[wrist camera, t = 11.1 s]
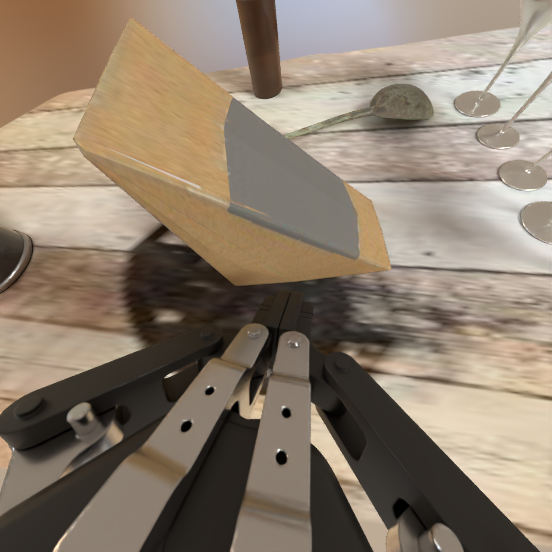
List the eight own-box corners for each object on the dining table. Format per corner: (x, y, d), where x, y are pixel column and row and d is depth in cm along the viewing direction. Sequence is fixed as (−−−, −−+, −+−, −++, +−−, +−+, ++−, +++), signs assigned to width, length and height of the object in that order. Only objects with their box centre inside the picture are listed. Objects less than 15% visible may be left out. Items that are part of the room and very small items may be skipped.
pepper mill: (251, 99, 30) (222, -34, 20) (257, 81, 31) (234, -52, 21) (279, 98, 29) (265, -41, 19) (284, 80, 31) (274, -59, 20)
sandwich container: (393, 272, 18) (695, 20, 4) (233, 288, 20) (62, 145, 6) (372, 198, 21) (504, -92, 7) (234, 217, 23) (123, 10, 9)
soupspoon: (439, 129, 24) (413, 100, 27) (459, 95, 21) (428, 66, 24) (264, 171, 24) (255, 138, 27) (259, 143, 21) (250, 110, 24)
